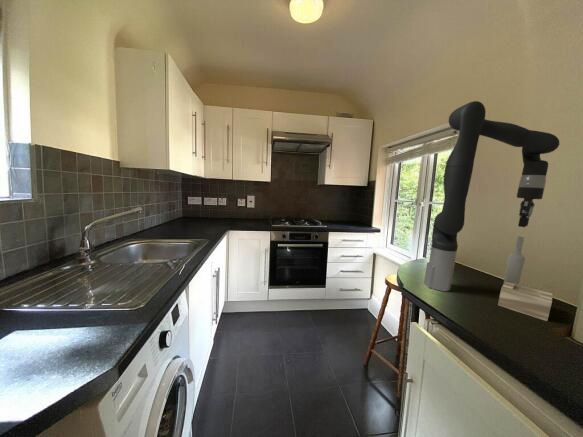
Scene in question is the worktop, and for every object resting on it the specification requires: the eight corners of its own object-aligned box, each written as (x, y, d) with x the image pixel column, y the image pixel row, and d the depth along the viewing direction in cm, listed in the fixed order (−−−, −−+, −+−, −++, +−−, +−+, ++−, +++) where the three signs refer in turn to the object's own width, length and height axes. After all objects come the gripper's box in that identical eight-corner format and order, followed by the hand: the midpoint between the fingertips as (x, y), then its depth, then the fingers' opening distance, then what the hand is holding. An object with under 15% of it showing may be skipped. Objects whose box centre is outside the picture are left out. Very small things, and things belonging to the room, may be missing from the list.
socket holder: (547, 321, 81) (551, 301, 80) (497, 305, 91) (501, 287, 90) (548, 310, 90) (552, 292, 89) (503, 296, 100) (506, 280, 99)
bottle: (520, 297, 100) (533, 238, 97) (505, 295, 101) (518, 237, 98) (511, 291, 105) (523, 236, 102) (498, 289, 106) (509, 234, 103)
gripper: (543, 186, 90) (534, 229, 92) (545, 188, 99) (536, 226, 101) (516, 185, 95) (508, 225, 97) (520, 187, 105) (513, 223, 107)
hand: (522, 226), depth 99 cm, fingers open, 8 cm apart
